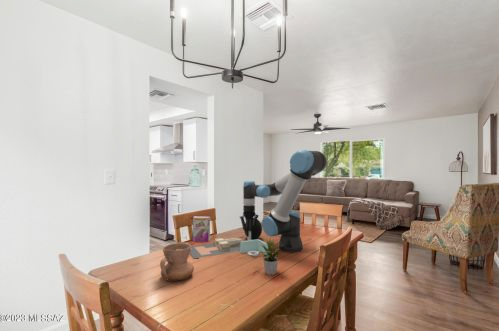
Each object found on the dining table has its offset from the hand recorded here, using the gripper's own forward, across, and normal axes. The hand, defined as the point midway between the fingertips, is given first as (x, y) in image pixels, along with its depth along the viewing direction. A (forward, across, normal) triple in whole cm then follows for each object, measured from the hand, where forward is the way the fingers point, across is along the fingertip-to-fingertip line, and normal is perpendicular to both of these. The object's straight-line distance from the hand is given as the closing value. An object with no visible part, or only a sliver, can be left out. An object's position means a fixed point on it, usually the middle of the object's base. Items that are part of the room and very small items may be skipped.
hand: (249, 241), depth 169 cm
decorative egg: (+2, -7, -8) cm, 11 cm away
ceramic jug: (+2, +52, +30) cm, 60 cm away
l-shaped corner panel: (+3, +6, +20) cm, 21 cm away
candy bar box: (+2, +26, -20) cm, 33 cm away
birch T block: (+2, +14, 0) cm, 14 cm away
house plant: (+2, +11, +43) cm, 45 cm away
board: (+2, +21, 0) cm, 21 cm away
